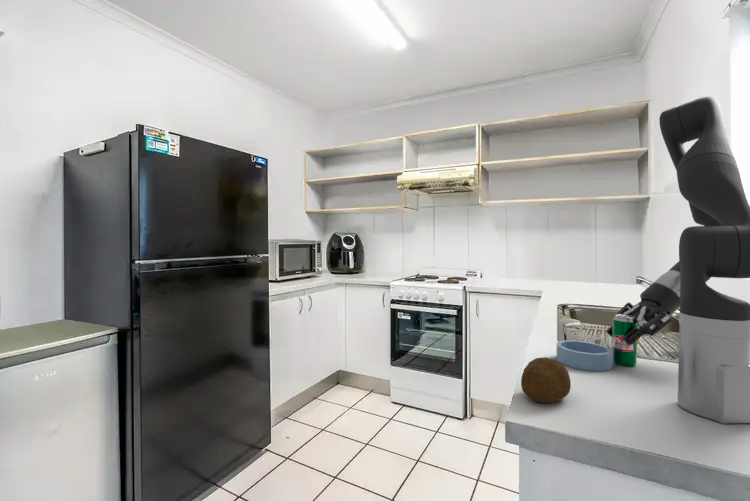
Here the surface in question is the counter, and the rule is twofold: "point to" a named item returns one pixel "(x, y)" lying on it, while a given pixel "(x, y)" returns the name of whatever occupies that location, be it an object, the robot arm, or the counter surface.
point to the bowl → (584, 355)
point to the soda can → (620, 348)
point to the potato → (545, 380)
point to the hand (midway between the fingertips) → (617, 338)
